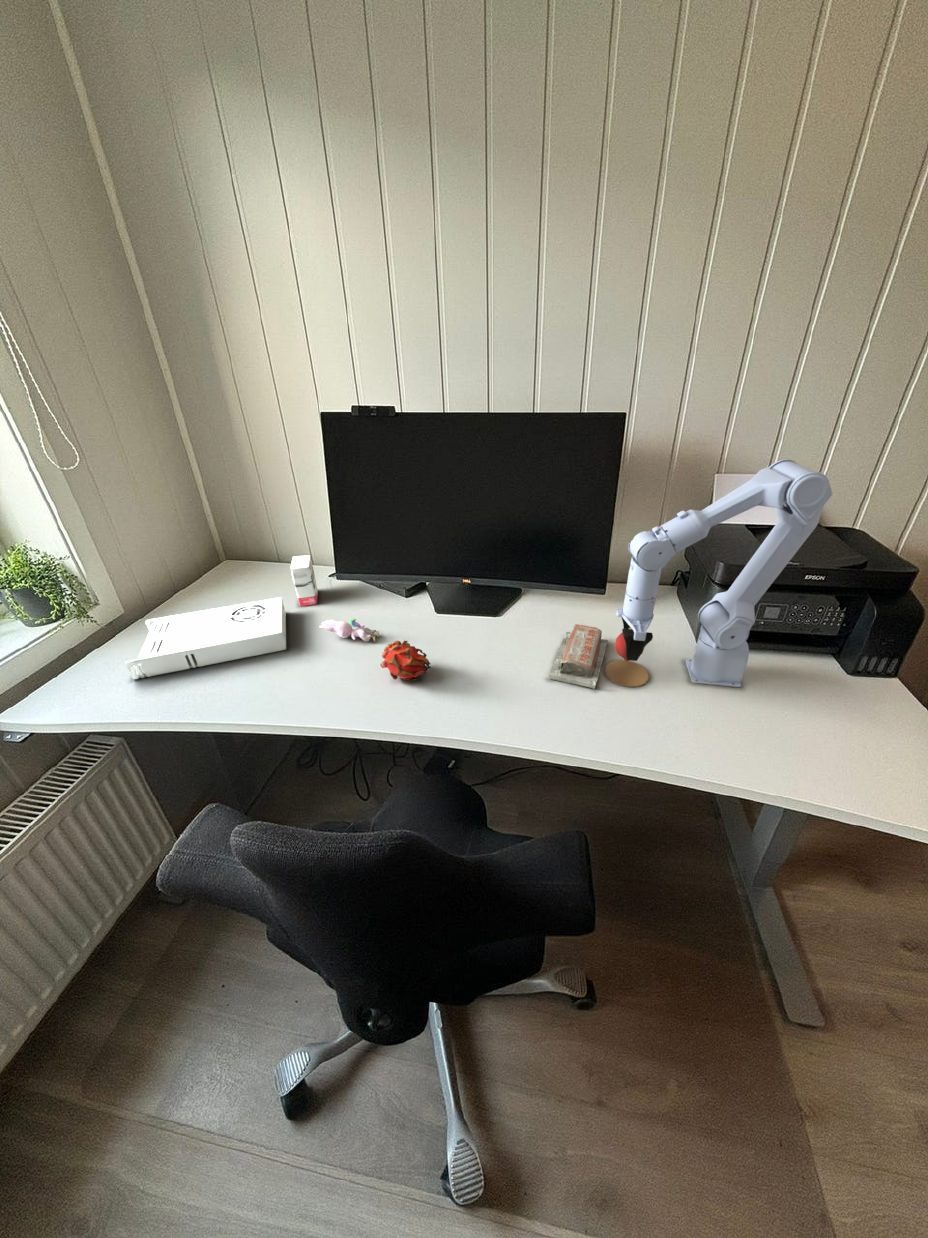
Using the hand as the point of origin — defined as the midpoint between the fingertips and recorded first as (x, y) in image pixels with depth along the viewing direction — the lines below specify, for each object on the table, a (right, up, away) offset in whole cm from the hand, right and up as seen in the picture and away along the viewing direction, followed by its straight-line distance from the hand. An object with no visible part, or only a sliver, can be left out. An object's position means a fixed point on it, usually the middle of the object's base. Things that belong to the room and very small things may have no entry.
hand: (630, 650), depth 100 cm
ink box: (-79, +12, +38) cm, 89 cm away
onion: (0, -2, +1) cm, 3 cm away
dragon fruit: (-47, -6, +6) cm, 48 cm away
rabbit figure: (-63, +2, +20) cm, 66 cm away
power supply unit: (-96, 0, +19) cm, 98 cm away
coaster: (0, -5, +3) cm, 6 cm away
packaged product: (-9, -3, +8) cm, 12 cm away
